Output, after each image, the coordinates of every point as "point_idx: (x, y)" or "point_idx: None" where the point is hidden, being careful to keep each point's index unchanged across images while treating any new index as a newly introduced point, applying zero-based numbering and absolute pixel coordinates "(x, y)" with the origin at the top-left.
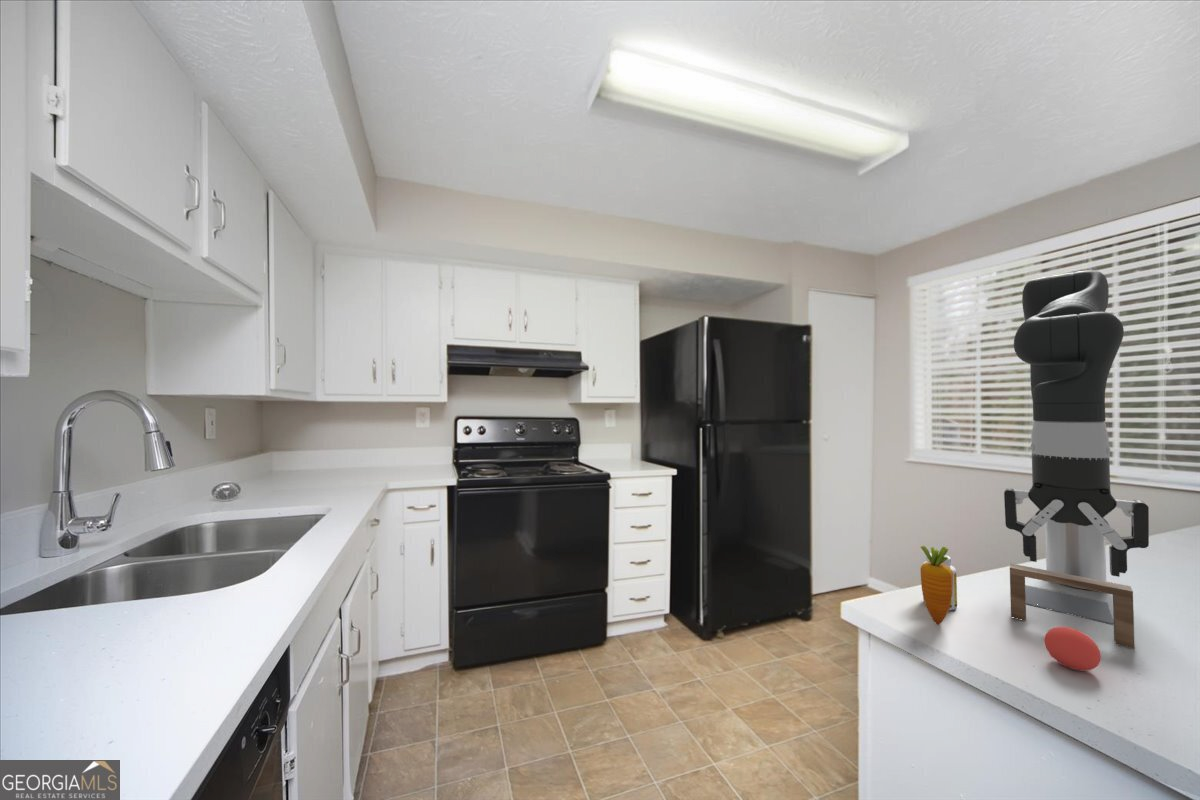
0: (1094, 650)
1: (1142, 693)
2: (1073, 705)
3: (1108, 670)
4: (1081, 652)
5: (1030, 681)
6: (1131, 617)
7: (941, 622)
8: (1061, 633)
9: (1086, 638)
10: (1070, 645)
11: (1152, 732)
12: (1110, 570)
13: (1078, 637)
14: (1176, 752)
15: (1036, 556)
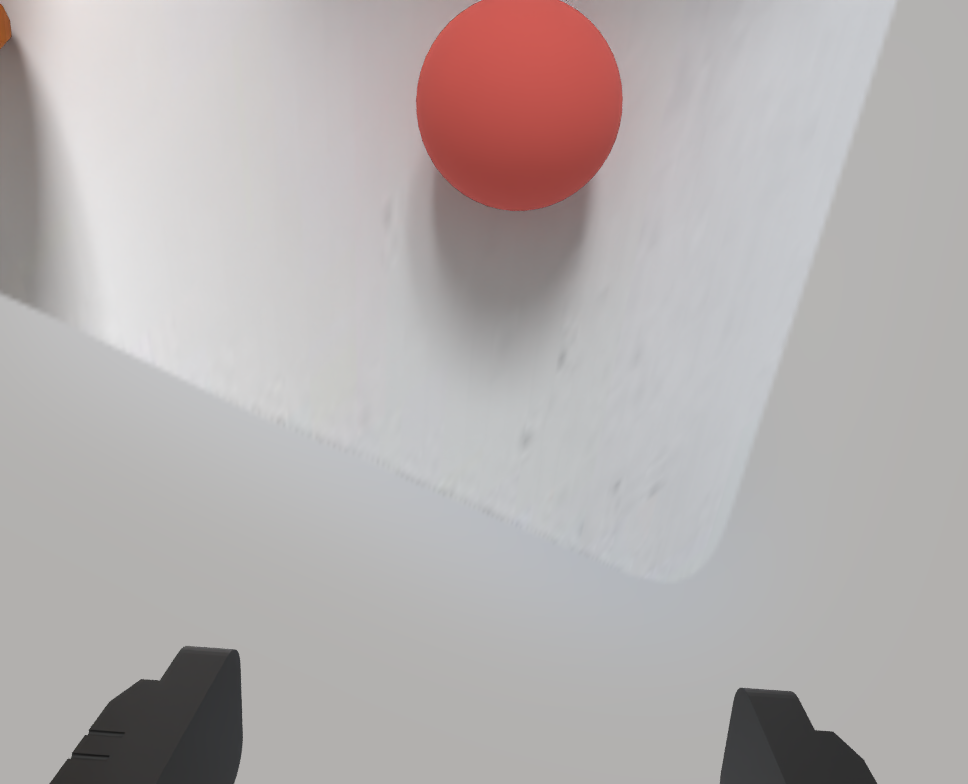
0: (595, 168)
1: (714, 179)
2: (487, 455)
3: (646, 24)
4: (543, 204)
5: (376, 371)
6: None
7: (9, 38)
8: (476, 153)
9: (575, 136)
10: (506, 198)
11: (666, 470)
12: (737, 735)
13: (541, 163)
14: (694, 543)
15: (225, 742)
